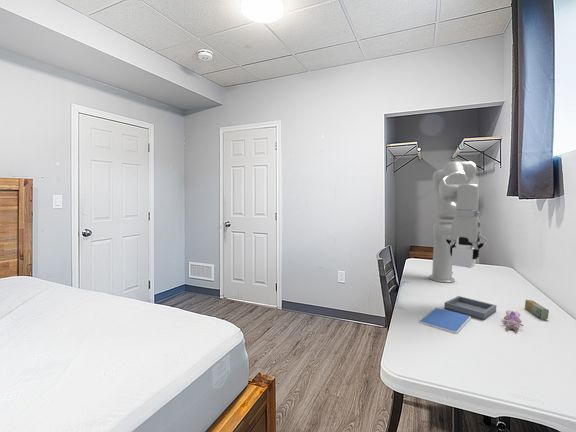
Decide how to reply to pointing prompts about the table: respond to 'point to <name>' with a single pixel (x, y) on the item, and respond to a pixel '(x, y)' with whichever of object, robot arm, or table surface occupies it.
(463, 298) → the tray
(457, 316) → the blue flat pad
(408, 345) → the table surface
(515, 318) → the rabbit figure
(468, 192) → the robot arm
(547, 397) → the table surface
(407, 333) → the table surface
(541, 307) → the medication box
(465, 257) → the medicine bottle
